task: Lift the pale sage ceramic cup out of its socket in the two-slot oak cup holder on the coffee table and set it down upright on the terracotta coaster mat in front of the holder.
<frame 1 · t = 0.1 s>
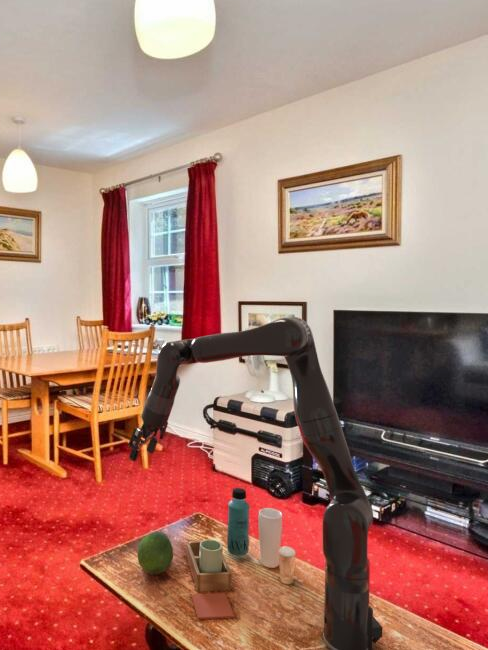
hand: (141, 455, 141), 31 cm above the table, tool tilted 20°, fingers open, 8 cm apart
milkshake: (287, 582, 133), on the table
beverage bottle: (237, 556, 147), on the table
fruit: (156, 568, 140), on the table
cup: (210, 580, 133), resting in cup holder
drinking glass: (269, 564, 142), on the table
cup holder: (207, 572, 138), on the table
coaster mat: (212, 606, 123), on the table
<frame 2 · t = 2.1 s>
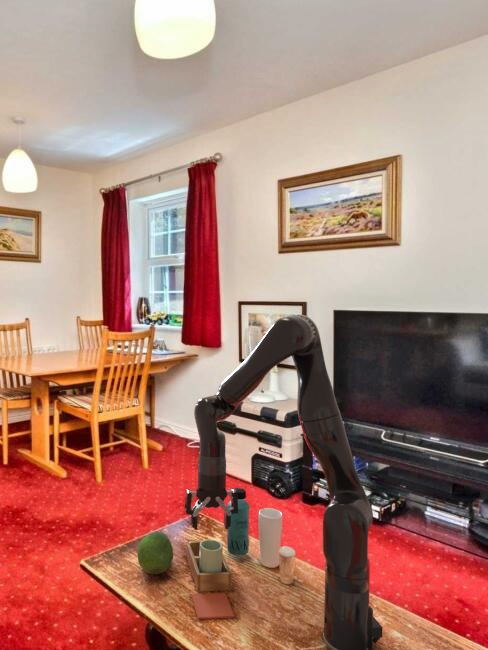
hand: (210, 528, 133), 15 cm above the table, tool pointing down, fingers open, 8 cm apart
nothing on the table moved.
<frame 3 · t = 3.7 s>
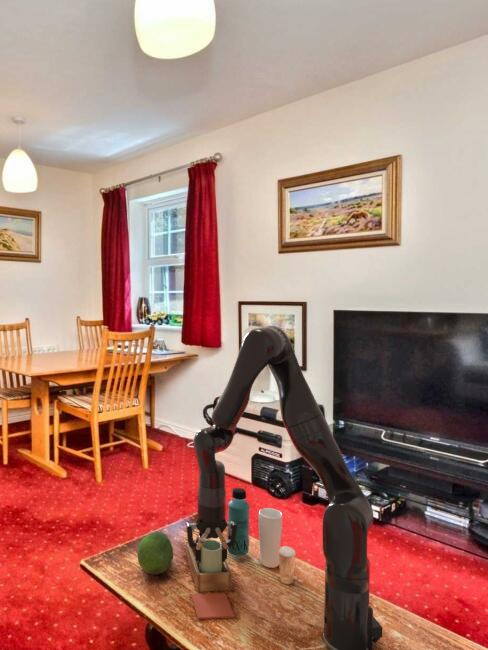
hand: (210, 560, 133), 6 cm above the table, tool pointing down, fingers closed on cup, 6 cm apart
cup: (210, 580, 133), resting in cup holder, touching gripper
everything else where it was.
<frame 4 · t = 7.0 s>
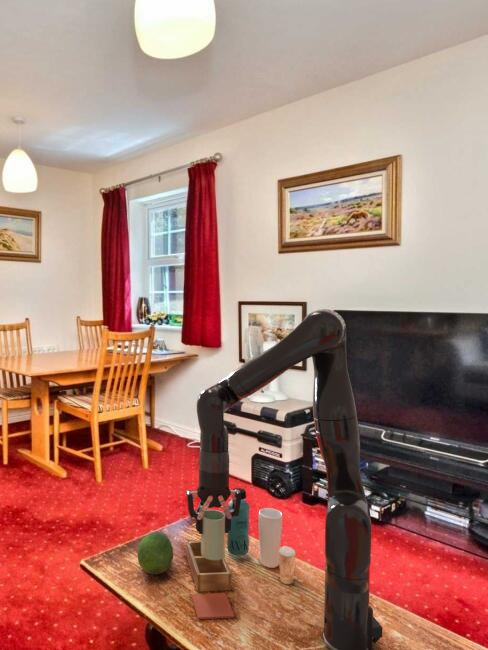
hand: (213, 531, 123), 18 cm above the table, tool pointing down, fingers closed on cup, 6 cm apart
cup: (212, 553, 123), point 13 cm above the table, touching gripper
everything else where it was.
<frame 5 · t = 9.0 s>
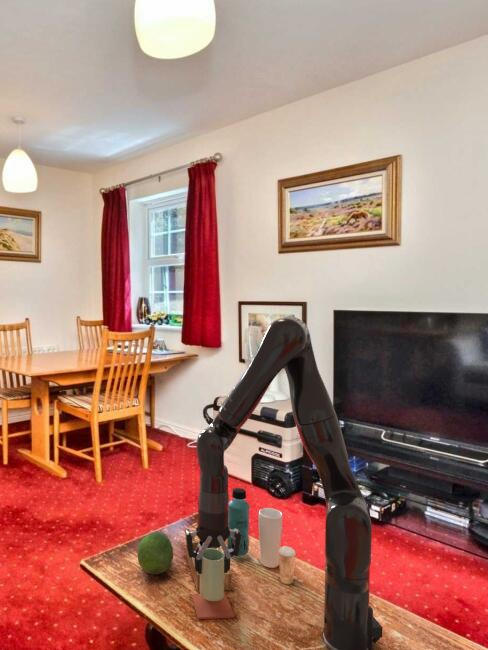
hand: (212, 571, 122), 9 cm above the table, tool pointing down, fingers closed on cup, 6 cm apart
cup: (211, 593, 122), point 3 cm above the table, touching gripper
everything else where it was.
when the fingers open (6 cm above the table, at t = 10.4 s): cup stays where it is, resting on coaster mat.
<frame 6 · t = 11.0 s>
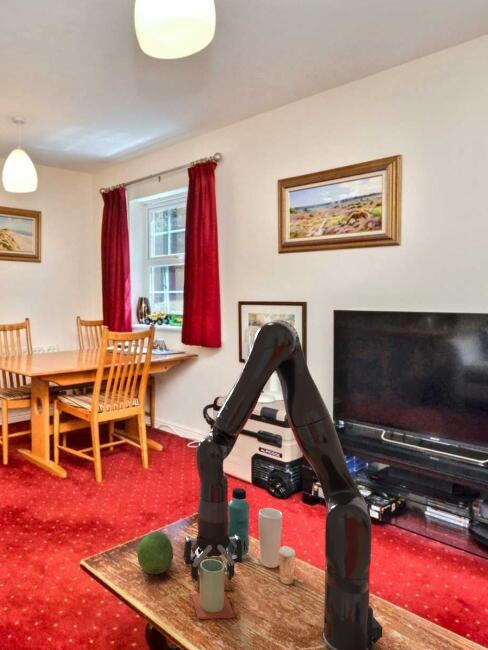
hand: (212, 578, 122), 7 cm above the table, tool pointing down, fingers open, 8 cm apart
cup: (211, 604, 123), resting on coaster mat
everything else where it was.
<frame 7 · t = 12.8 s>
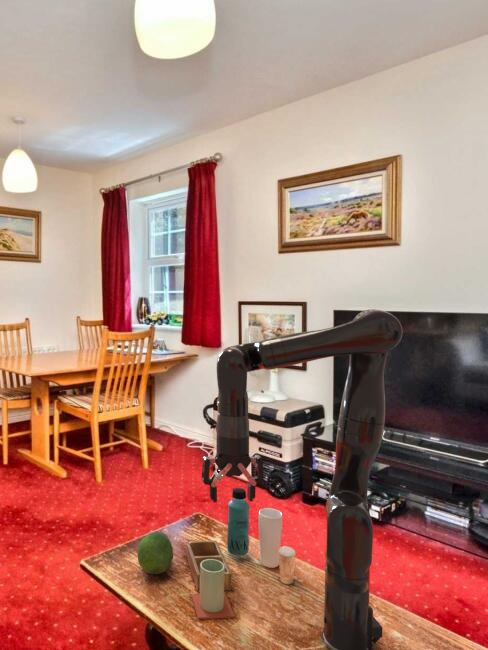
hand: (232, 500, 115), 30 cm above the table, tool pointing down, fingers open, 8 cm apart
nothing on the table moved.
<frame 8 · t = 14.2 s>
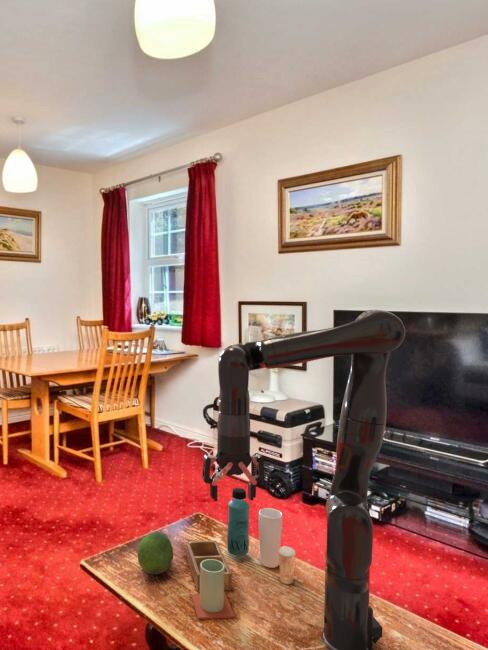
hand: (232, 499, 115), 30 cm above the table, tool pointing down, fingers open, 8 cm apart
nothing on the table moved.
at the end: cup 0.1 cm off-centre on the coaster mat, point 0.5 cm above the coaster mat's base; cup tilted 0°; the gripper is holding nothing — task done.
